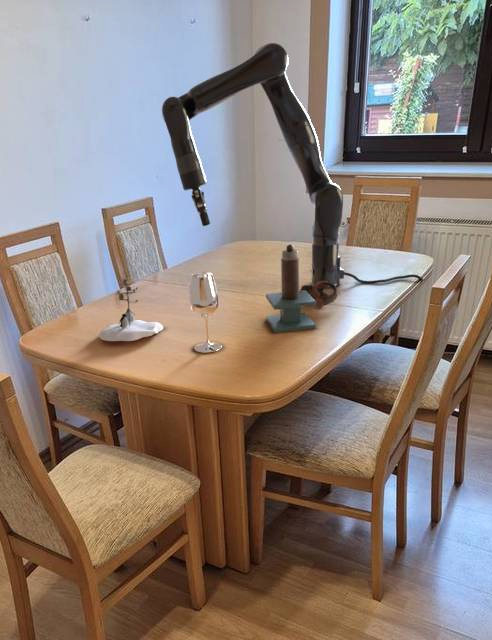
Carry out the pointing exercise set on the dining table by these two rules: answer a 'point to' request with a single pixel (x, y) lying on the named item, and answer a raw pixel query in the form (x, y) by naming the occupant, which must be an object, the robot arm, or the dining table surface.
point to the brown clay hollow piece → (321, 293)
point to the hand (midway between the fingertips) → (206, 225)
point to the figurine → (129, 324)
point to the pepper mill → (290, 274)
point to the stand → (290, 312)
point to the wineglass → (204, 305)
